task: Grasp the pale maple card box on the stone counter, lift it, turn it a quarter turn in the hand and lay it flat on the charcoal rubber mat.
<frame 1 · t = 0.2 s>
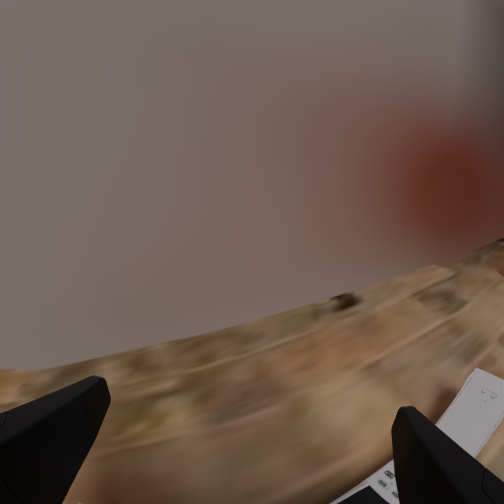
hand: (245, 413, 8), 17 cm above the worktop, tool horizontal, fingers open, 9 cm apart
mobile phone: (409, 491, 18), on the worktop
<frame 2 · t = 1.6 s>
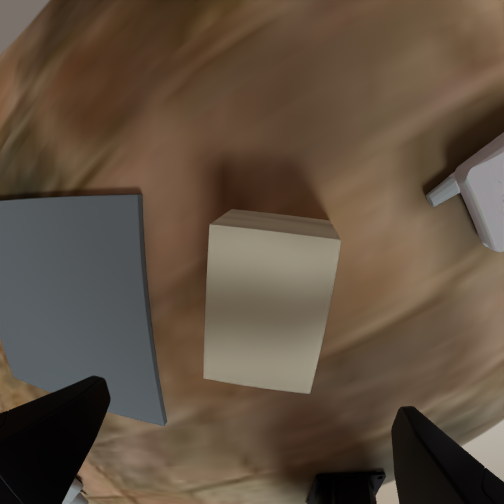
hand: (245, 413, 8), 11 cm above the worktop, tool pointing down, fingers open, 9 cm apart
bunny figurine: (60, 478, 32), on the worktop
rubber mat: (54, 311, 22), on the worktop
card box: (273, 281, 19), on the worktop
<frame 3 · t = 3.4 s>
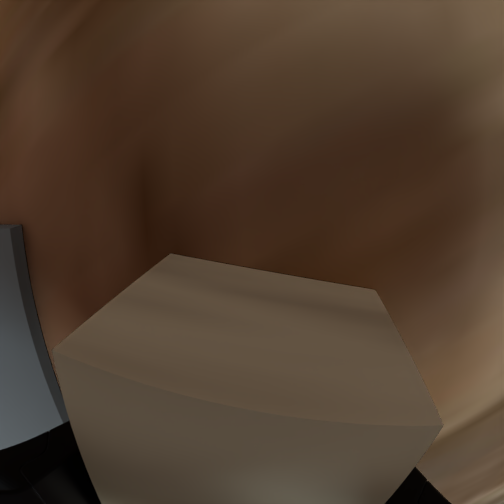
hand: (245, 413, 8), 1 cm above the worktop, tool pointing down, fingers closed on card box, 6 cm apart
card box: (250, 391, 9), on the worktop, touching gripper
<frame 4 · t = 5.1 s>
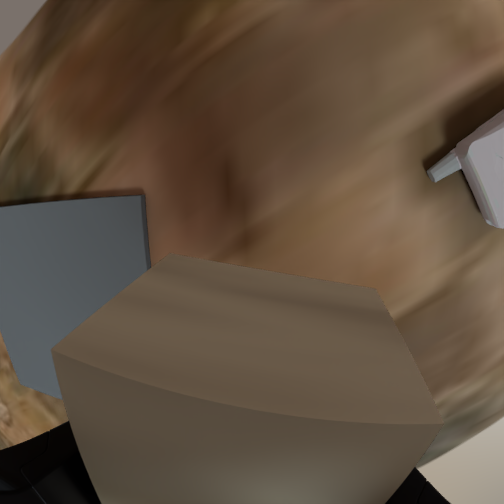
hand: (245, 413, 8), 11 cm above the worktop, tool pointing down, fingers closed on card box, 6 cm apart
rubber mat: (59, 316, 22), on the worktop
card box: (250, 390, 9), point 10 cm above the worktop, touching gripper
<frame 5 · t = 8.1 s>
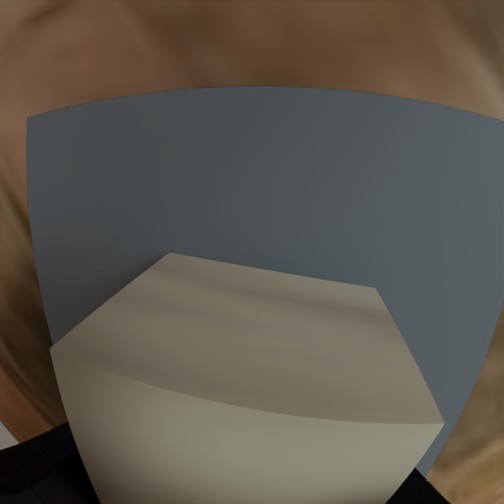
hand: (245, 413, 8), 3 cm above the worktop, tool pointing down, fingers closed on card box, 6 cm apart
rubber mat: (256, 358, 11), on the worktop
card box: (250, 390, 9), point 2 cm above the worktop, touching gripper
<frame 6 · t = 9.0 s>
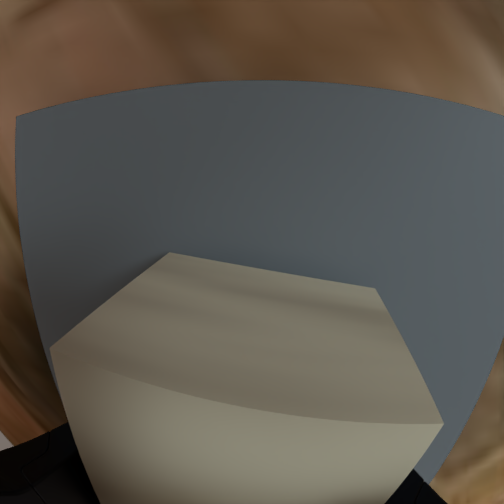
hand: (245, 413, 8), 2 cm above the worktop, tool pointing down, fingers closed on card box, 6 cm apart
rubber mat: (254, 368, 11), on the worktop
card box: (250, 390, 9), point 1 cm above the worktop, touching gripper
when the fingers open (2 cm above the worktop, at t = 9.2 s): card box stays where it is, resting on rubber mat.
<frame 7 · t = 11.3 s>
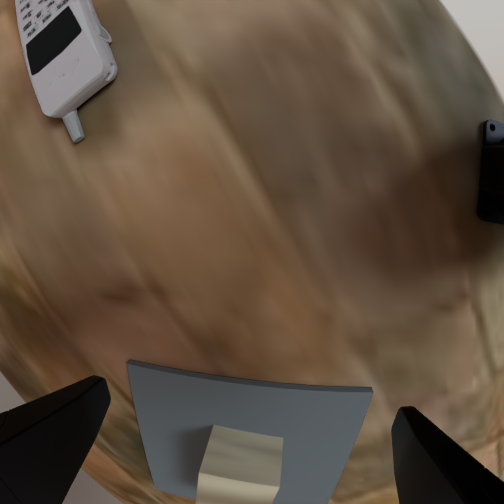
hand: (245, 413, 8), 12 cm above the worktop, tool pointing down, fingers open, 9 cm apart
rubber mat: (242, 455, 24), on the worktop
mobile phone: (62, 6, 16), on the worktop
card box: (241, 460, 24), point 1 cm above the worktop, touching rubber mat
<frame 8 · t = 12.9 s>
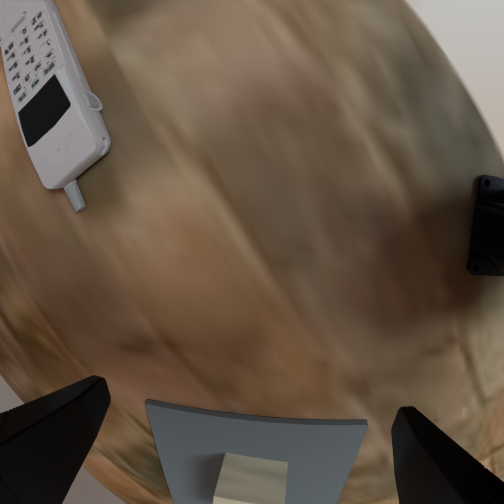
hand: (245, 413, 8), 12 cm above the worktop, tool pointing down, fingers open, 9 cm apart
rubber mat: (252, 476, 26), on the worktop
mobile phone: (50, 61, 18), on the worktop
card box: (251, 480, 25), point 1 cm above the worktop, touching rubber mat
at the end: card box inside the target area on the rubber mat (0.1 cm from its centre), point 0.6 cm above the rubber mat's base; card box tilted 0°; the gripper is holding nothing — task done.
